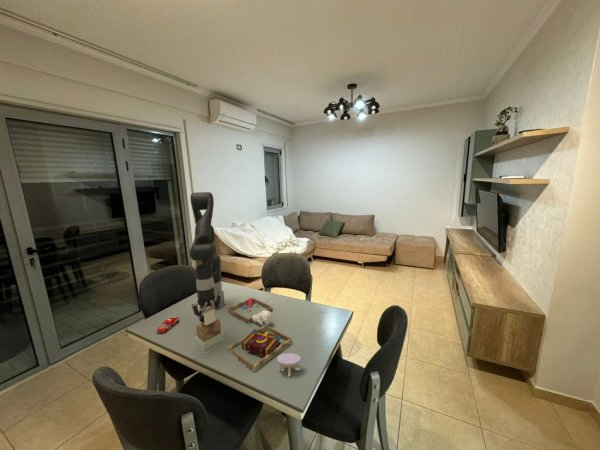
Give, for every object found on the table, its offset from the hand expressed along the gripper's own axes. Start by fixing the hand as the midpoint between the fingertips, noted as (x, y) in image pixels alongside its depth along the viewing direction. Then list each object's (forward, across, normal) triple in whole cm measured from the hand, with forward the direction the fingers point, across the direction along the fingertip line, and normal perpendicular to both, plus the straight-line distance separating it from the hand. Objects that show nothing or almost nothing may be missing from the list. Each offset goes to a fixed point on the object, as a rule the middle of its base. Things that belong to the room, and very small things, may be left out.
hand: (208, 319), depth 116 cm
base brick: (+12, 0, 0) cm, 12 cm away
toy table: (+13, +12, -41) cm, 45 cm away
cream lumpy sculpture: (+13, +27, -6) cm, 31 cm away
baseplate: (+13, 0, 0) cm, 13 cm away
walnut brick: (+8, 0, 0) cm, 8 cm away
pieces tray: (+13, +32, +9) cm, 36 cm away
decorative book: (+13, +14, -21) cm, 28 cm away
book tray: (+13, +14, -21) cm, 28 cm away
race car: (+14, -6, +31) cm, 35 cm away
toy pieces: (+14, +35, +12) cm, 40 cm away
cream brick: (+1, 0, 0) cm, 1 cm away
